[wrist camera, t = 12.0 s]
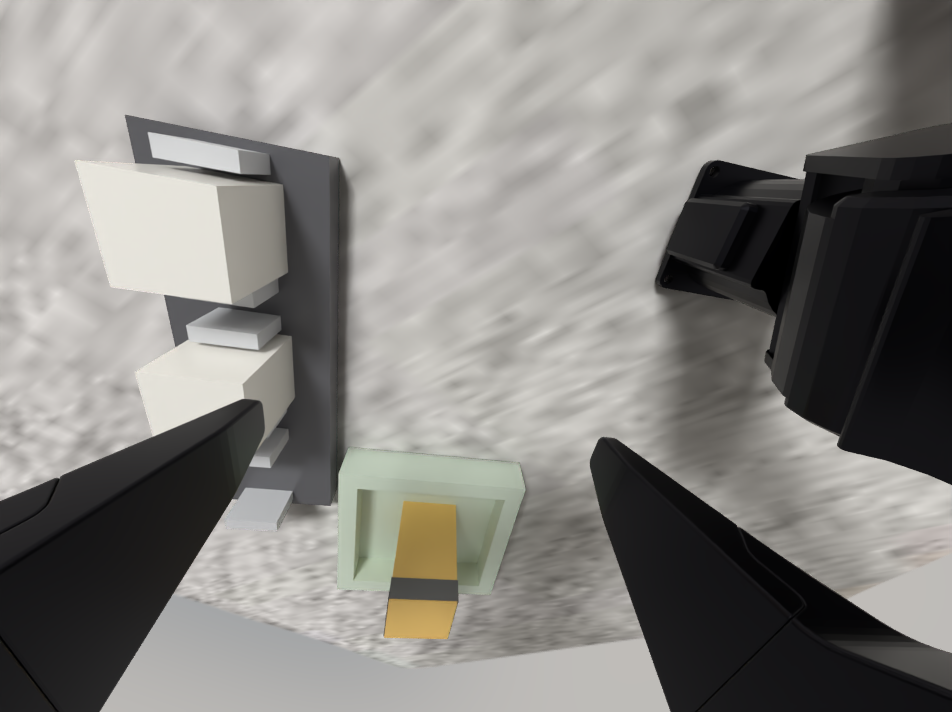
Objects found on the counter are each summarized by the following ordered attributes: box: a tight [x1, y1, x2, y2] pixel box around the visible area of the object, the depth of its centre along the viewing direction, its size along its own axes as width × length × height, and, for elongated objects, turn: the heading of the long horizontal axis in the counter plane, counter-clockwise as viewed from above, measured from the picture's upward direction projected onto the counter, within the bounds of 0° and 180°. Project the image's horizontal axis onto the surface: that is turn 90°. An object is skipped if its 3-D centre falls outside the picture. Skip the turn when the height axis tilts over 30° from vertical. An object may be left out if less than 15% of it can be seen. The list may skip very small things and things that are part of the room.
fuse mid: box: [135, 334, 295, 450], centre depth 17 cm, size 4×4×5 cm
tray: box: [337, 447, 526, 595], centre depth 27 cm, size 12×12×2 cm
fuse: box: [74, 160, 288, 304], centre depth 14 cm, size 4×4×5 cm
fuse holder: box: [125, 115, 339, 531], centre depth 19 cm, size 8×22×4 cm, turn 170°
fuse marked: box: [384, 501, 458, 639], centre depth 24 cm, size 4×4×7 cm
